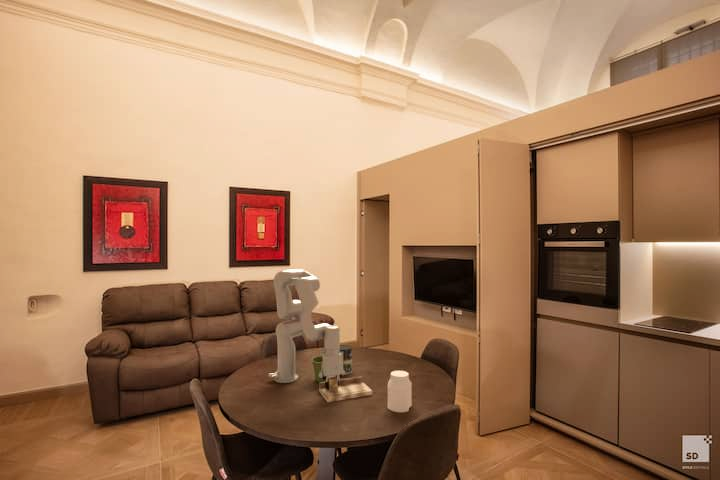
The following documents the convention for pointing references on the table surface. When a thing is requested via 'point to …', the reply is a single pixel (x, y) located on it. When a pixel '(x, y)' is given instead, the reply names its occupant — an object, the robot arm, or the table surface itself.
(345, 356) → the coffee can
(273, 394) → the table surface
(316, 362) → the plant pot
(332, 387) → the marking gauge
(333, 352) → the robot arm
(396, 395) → the jar
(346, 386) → the board
